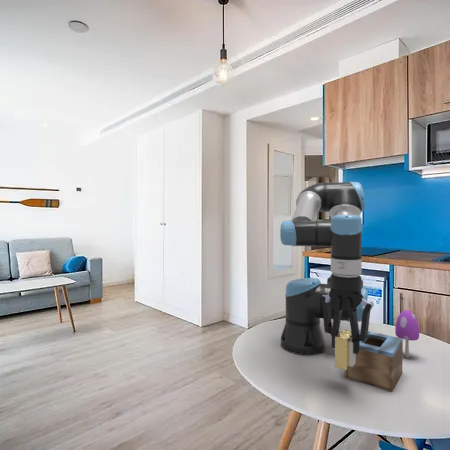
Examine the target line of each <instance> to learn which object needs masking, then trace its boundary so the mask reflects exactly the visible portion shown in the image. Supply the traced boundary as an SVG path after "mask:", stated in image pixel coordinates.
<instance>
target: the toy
mask: <svg viewBox="0 0 450 450" xmlns="http://www.w3.org/2000/svg"><path fill="white" fill-rule="evenodd" d="M394 331H395V332H394V333H395V337H398V338H403V341H404V340H405V351H404V357H405V358H409V357H410V350H409V349H410V348H409V347H410V346H409V345H410V344H409V343H410V341H418V340H419V338H420V327H419V322H418V319H417V317H416V315H415V314H414V313H413V312H412V310H411V311H410V310H409V309H405V310H402V311H401V312H400V313H399V314H398V317H397V318H396V322H395V330H394Z"/></svg>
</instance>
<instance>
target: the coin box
mask: <svg viewBox="0 0 450 450" xmlns="http://www.w3.org/2000/svg"><path fill="white" fill-rule="evenodd" d="M360 331H361V328H360V329H359V333H360ZM403 342H404V339H403V338H399V337H397V336H392V335H388V334H384V333H378V332H374V331H369V330H368V337H367V338H366V340H365V341H360V346H359V352H358V354H356V359H355V364H354V365H353V367H349V369H348V370H344V378H346V379H350V380H353V381H354V382H355V381H357V382H360V383H363V384H365V385H368V386H371V387H375V388H378V389H381V390H385V391H387V392H388V391H389V392H393V391H394V389H395V387H396V386H397V383H398V382H399V380H400V378H401V376H402V374H403V356H404V355H403V353H404V352H403V350H404V349H403V347H404V345H403V344H404V343H403Z"/></svg>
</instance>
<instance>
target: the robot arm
mask: <svg viewBox="0 0 450 450" xmlns="http://www.w3.org/2000/svg"><path fill="white" fill-rule="evenodd" d="M295 200H296V201H295V206H296V207H295V209H294V212H293V215H292V218H291V220H285V221H284V220H283V221H282V222H281V223H280V224H281V225H280V231H279V233H280V237H279V238H280V242H281V244H282V245H283V246H292V247H325V248H326V247H327V248H328V247H329V248H330V272H331V275H330V276H328V278H327V279H326V283H322V281H321V280H320V279H319V278H315V277H304V278H296V279H293V280H289V281H288V282H287V283H286V287H285V293H284V297H285V323H284V326H283V330H282V332H281V336H280V346H281V348H282V349H283V350H285V351H287V352H290V353H293V354H298V355H303V356H304V355H305V356H309V355H310V356H311V355H318V354H321V353H323V352H324V351H326V350H325V349H326V340H325V337H324V334H323V331H322V327H321V319H323V328H324V333H325V334H329V335H330V337H331V348H333V349H335V336H337V335H338V334H339V333H340V327H341V321H343V322H344V321H346V322H349V325H350V331H351V333H352V339H351V340H350V341H349V366H350V367H353V365H354V364H355V359H356V354H358V352H359V346H360V341H365V340H366V338H367V337H368V331H369V327H370V326H369V325H370V317H371V310H372V308H374V305H375V304H374V302H373V301H368V297H369V287H368V286H366V285H364V280H363V278H362V276H361V274H362V271H363V270H362V267H363V266H362V264H363V263H362V243H363V238H362V237H363V223H362V222H363V220H362V217H361V214H362V212H364V210H365V205H366V202H365V193H364V189H363V186H362V184H361V183H360V182H358V181H350V180H349V181H347V182H346V181H344V182H342V181H341V182H319V183H318V182H317V183H315V184H311V185H309V186H308V187H306V188H304V189H303V190H301V191H300V192H299V194H298V195H297V197H296V199H295ZM321 212H324V213H326V212H327V213H328V216H329V217H330V218H331V219H330V220H317V215H318V213H321ZM360 322H361V324H360V327H359V323H360ZM359 328H360V330H361V331H360V333H359Z"/></svg>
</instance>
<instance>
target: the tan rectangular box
mask: <svg viewBox="0 0 450 450" xmlns="http://www.w3.org/2000/svg"><path fill="white" fill-rule="evenodd" d="M351 339H352V333H351V330H346V329H342V330H341V331H339V333H338V335H337V336H335V348H334V367H335V368H336V369H337V368H339V369H341V370H344V371H345V370H348V369H349V367H350V366H349V341H350V340H351Z"/></svg>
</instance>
